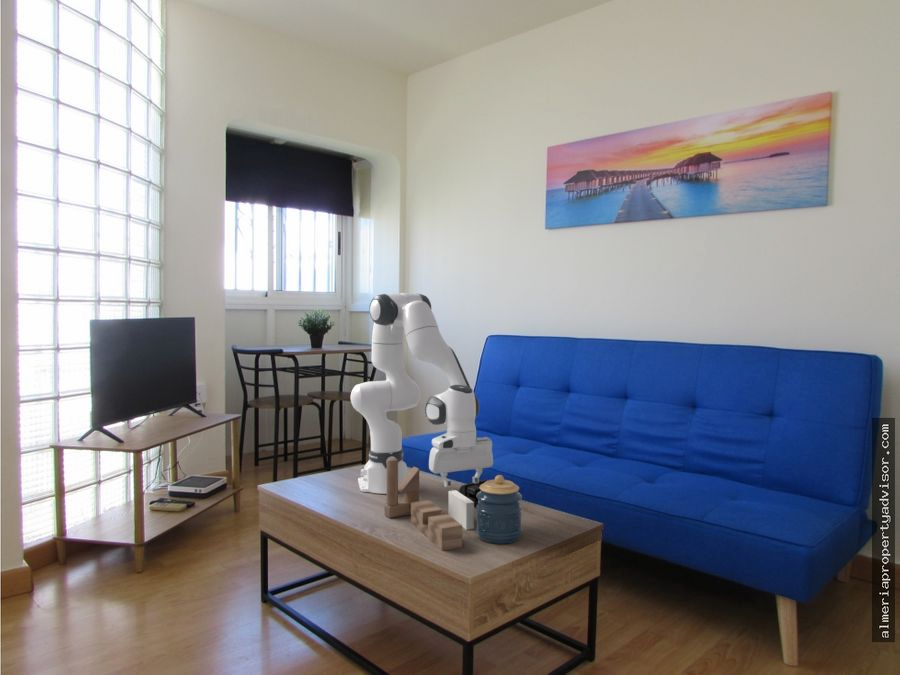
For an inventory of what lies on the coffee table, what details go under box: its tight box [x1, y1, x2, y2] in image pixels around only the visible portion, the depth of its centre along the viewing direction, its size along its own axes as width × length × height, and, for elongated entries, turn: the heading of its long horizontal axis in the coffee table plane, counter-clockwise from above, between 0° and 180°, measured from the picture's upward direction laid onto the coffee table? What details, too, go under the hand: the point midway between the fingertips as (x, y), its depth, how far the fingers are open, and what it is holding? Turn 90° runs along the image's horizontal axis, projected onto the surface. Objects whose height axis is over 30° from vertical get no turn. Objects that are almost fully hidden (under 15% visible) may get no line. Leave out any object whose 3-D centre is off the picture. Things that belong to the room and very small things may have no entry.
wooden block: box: [384, 458, 420, 519], centre depth 195 cm, size 4×11×18 cm, turn 123°
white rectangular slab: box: [447, 489, 475, 531], centre depth 189 cm, size 13×2×8 cm, turn 24°
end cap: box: [458, 479, 488, 509], centre depth 208 cm, size 10×7×7 cm
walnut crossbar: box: [410, 499, 463, 551], centre depth 179 cm, size 24×6×6 cm, turn 24°
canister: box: [475, 474, 523, 545], centre depth 177 cm, size 13×13×18 cm
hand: (461, 484), depth 188 cm, fingers open, 8 cm apart
